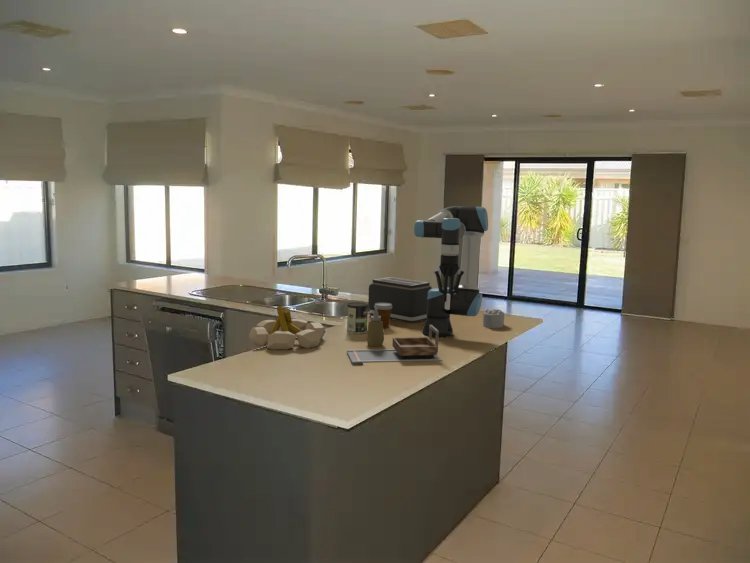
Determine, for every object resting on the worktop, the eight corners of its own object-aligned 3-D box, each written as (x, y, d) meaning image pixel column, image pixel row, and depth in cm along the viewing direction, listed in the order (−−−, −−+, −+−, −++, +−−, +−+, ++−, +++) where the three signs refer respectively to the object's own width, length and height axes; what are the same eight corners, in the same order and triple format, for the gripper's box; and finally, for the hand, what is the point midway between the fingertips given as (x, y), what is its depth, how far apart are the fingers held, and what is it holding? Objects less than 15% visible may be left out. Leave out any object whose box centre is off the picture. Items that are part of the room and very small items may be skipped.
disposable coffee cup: (370, 327, 324) (371, 304, 322) (377, 323, 333) (378, 301, 331) (387, 329, 321) (388, 306, 319) (394, 325, 329) (395, 303, 328)
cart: (429, 349, 279) (430, 323, 277) (438, 359, 263) (440, 332, 262) (392, 350, 276) (393, 324, 274) (399, 360, 261) (400, 332, 259)
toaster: (384, 309, 372) (385, 275, 369) (432, 318, 350) (434, 282, 347) (363, 314, 358) (364, 278, 355) (412, 323, 336) (413, 286, 333)
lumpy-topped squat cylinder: (505, 324, 339) (506, 309, 338) (498, 329, 328) (499, 313, 327) (487, 322, 344) (488, 306, 343) (479, 326, 333) (480, 310, 331)
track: (431, 351, 280) (431, 348, 280) (441, 362, 263) (442, 359, 263) (347, 353, 274) (347, 350, 274) (352, 364, 256) (352, 361, 256)
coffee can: (369, 330, 319) (369, 302, 316) (364, 334, 309) (365, 306, 306) (349, 328, 321) (350, 301, 318) (344, 333, 311) (345, 305, 308)
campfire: (260, 331, 310) (260, 298, 307) (328, 334, 309) (328, 300, 306) (243, 350, 276) (242, 312, 273) (319, 352, 274) (320, 314, 272)
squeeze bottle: (371, 350, 280) (372, 310, 277) (363, 346, 287) (364, 307, 284) (387, 348, 283) (388, 309, 281) (378, 344, 290) (379, 306, 288)
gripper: (437, 255, 261) (434, 310, 264) (467, 255, 263) (464, 310, 266) (432, 253, 268) (430, 307, 271) (461, 253, 270) (459, 307, 274)
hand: (447, 308), depth 269 cm, fingers closed
